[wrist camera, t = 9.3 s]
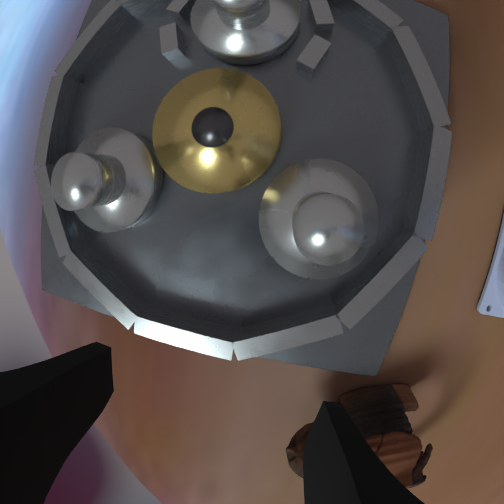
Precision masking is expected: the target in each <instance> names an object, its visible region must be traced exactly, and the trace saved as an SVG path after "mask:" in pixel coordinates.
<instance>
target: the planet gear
mask: <svg viewBox="0 0 504 504" xmlns="http://www.w3.org/2000/svg"><path fill="white" fill-rule="evenodd" d="M300 14H301V12H300V4H299V1H298V0H196V2H195V4H194V6H193V8H192V11H191V17H190V20H191V27H192V30H193V32H194V34H195V35H196V37H197V38H198V40H199V41H200V43H201V44H202V46H203V47H204V48H205V49H206V51H207V52H209V53H210V54H211V55H212V56H214V57H216V58H217V59H220V60H222V61H225V62H228V63H233V64H242V65H245V64H257V63H261V62H265V61H268V60H271V59H273V58H275V57H277V56H279V55H280V54H282V53H283V52H284V51H286V50H287V49H288V48H289V47H290V46H291V45H292V43H293V42H294V41H295V39H296V37H297V35H298V32H299V27H300Z"/></svg>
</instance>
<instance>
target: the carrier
mask: <svg viewBox="0 0 504 504" xmlns="http://www.w3.org/2000/svg"><path fill="white" fill-rule="evenodd" d="M298 1H299V4H300V12H301V14H300V27H299V32H298V35H297V37H296V39H295V41H294V42H293V43H292V45H291V46H290V47H289V48H288V49H287V50H286V51H284V52H283V53H282V54H280V55H279V56H277V57H275V58H273V59H271V60H268V61H265V62H261V63H257V64H245V65H242V64H233V63H228V62H225V61H222V60H220V59H217V58H216V57H214V56H212V55H211V54H210V53H209V52H207V51H206V49H205V48H204V47H203V46H202V44H201V43H200V41H199V40H198V38H197V37H196V35H195V34H194V32H193V30H192V27H191V20H190V17H191V11H192V8H193V6H194V4H195V2H196V0H92V2H91V4H90V6H89V9H88V11H87V13H86V16H85V18H84V21H83V23H82V26H81V28H80V31H79V34H78V36H77V39H76V41H75V43H74V44H73V45H72V47H71V48H70V49H69V51H68V52H67V54H66V55H65V56H64V58H63V59H62V61H61V62H60V64H59V65H58V66H57V68H56V69H55V72H56V73H57V74H59V75H60V76H53V77H52V78H51V81H50V85H49V89H48V93H47V97H46V101H45V105H44V110H43V114H42V119H41V124H40V129H39V135H38V141H37V147H36V154H35V161H34V165H39V166H40V167H39V168H38V169H36V170H35V171H34V172H35V177H36V181H37V185H38V189H39V193H40V197H41V201H42V204H43V206H42V226H41V270H42V290H44V291H47V292H49V293H51V294H54V295H56V296H59V297H61V298H64V299H66V300H69V301H71V302H74V303H77V304H79V305H82V306H85V307H87V308H90V309H93V310H96V311H98V312H101V313H104V314H107V315H110V316H113V317H115V318H116V319H118V320H119V321H120V322H121V323H122V324H123V325H124V326H125V327H126V328H127V329H128V330H129V329H130V328H131V327H132V326H133V325H134V333H135V334H139V335H142V336H145V337H148V338H151V339H154V340H157V341H161V342H164V343H167V344H171V345H174V346H178V347H181V348H185V349H188V350H192V351H196V352H199V353H203V354H207V355H211V356H215V357H219V358H223V359H227V360H231V359H232V356H233V353H234V352H235V354H236V356H237V359H238V360H243V359H248V358H252V357H261V358H266V359H271V360H276V361H281V362H286V363H291V364H297V365H302V366H308V367H314V368H320V369H326V370H333V371H340V372H347V373H354V374H362V375H370V376H376V375H377V373H378V371H379V369H380V367H381V364H382V362H383V360H384V357H385V355H386V353H387V350H388V348H389V346H390V343H391V341H392V338H393V336H394V333H395V331H396V328H397V326H398V323H399V320H400V318H401V315H402V312H403V310H404V307H405V304H406V301H407V298H408V295H409V292H410V289H411V286H412V283H413V280H414V277H415V274H416V270H417V267H418V264H419V260H420V257H421V256H422V255H423V254H424V253H425V252H426V250H427V249H428V247H427V246H426V245H425V243H424V242H425V239H426V240H430V241H432V240H433V236H434V232H435V228H436V224H437V220H438V215H439V211H440V206H441V201H442V196H443V191H444V186H445V181H446V175H447V169H448V162H449V156H450V148H451V140H452V131H450V130H447V129H446V126H447V125H450V124H451V121H450V118H449V115H448V98H449V77H450V38H449V18H448V15H446V14H444V13H442V12H440V11H438V10H436V9H433V8H431V7H429V6H427V5H424V4H422V3H419V2H417V1H415V0H298Z"/></svg>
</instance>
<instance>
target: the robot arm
mask: <svg viewBox="0 0 504 504" xmlns="http://www.w3.org/2000/svg"><path fill="white" fill-rule="evenodd" d="M488 306H489V307H488ZM487 307H488V309H487ZM477 310H478V312H480V313H481V314H485V315H491V316H496V317H502V318H504V214H503V219H502V224H501V228H500V233H499V237H498V241H497V245H496V249H495V253H494V256H493V260H492V263H491V267H490V270H489V273H488V276H487V280H486V283H485V286H484V289H483V292H482V294H481V297H480V300H479V303H478V306H477ZM113 392H114V389H113V376H112V359H111V347H108V346H106V345H103V344H101V343H98V342H95V343H91V344H89V345H86V346H83V347H80V348H78V349H75V350H72V351H70V352H67V353H64V354H62V355H59V356H56V357H54V358H51V359H48V360H45V361H42V362H39V363H35V364H32V365H29V366H26V367H22V368H19V369H14V370H10V371H5V372H0V504H43V503H44V501H45V499H46V496H47V494H48V492H49V490H50V488H51V486H52V484H53V482H54V480H55V478H56V476H57V474H58V473H59V471H60V469H61V467H62V466H63V463H64V462H65V460H66V459H67V457H68V456H69V454H70V453H71V451H72V450H73V449H74V448H75V446H76V445H77V444H78V442H79V441H80V440H81V439H82V437H83V436H84V435H85V434H86V432H87V431H88V430H89V429H90V427H91V426H92V425H93V423H94V422H95V421H96V419H97V418H98V417H99V415H100V414H101V413H102V411H103V410H104V408H105V406H106V404H107V403H108V401H109V399H110V397H111V395H112V393H113ZM303 479H304V499H305V504H424V503H423V502H422V501H421V500H419V499H418V498H417V497H416V496H414V495H413V494H412V493H411V492H410V491H409V490H408V489H407V488H406V487H405V486H404V485H403V484H402V483H401V482H400V481H399V480H398V479H397V478H396V477H395V476H394V475H393V474H392V473H391V472H390V471H389V470H388V468H387V467H386V466H385V465H384V464H383V462H382V461H381V460H380V459H379V458H378V456H377V455H376V454H375V452H374V451H373V450H372V448H371V447H370V446H369V444H368V443H367V441H366V440H365V439H364V437H363V436H362V434H361V433H360V431H359V430H358V428H357V427H356V425H355V424H354V422H353V421H352V419H351V418H350V416H349V415H348V413H347V411H346V410H345V408H344V407H343V405H342V404H341V403H335V402H327V401H323V403H322V405H321V408H320V410H319V412H318V414H317V417H316V419H315V421H314V423H313V425H312V427H311V429H310V432H309V434H308V436H307V438H306V440H305V446H304V458H303Z"/></svg>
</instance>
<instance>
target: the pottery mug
mask: <svg viewBox="0 0 504 504" xmlns="http://www.w3.org/2000/svg"><path fill="white" fill-rule="evenodd" d="M340 403H341V404H342V405H343V407H344V408H345V410H346V411H347V413H348V415H349V416H350V418H351V419H352V421H353V422H354V424H355V425H356V427H357V428H358V430H359V431H360V433H361V434H362V436H363V437H364V439H365V440H366V441H367V443H368V444H369V446H370V447H371V448H372V450H373V451H374V452H375V454H376V455H377V456H378V458H379V459H380V460H381V461H382V462H383V464H384V465H385V466H386V467H387V468H388V470H389V471H390V472H391V473H392V474H393V475H394V476H395V477H396V478H397V479H398V480H399V481H400V482H401V483H402V484H403V485H404V486H405V487H406V488H412V487H415V486H417V485H419V484H421V483H423V482H424V481H425V479H426V476H425V475H424V476H423V473H422V470H423V468H424V467H425V465H426V464H427V462H428V460H429V458H430V455H431V451H432V449H433V448H432V445H431V444H428V445H427V446H426V449H425V452H423V451H421V450H422V445H421V440H420V439H419V437H417V436H415V435H413V434H412V432H413V430H412V428H411V424H410V423H409V421H408V417H407V416H406V414H405V412H406V411H416V410H417V409H418V407H419V406H418V402H417V400H416V398H415V396H414V395H413V393H412V391H411V389H410V387H409V386H408V385H405V384H392V385H391V384H387V385H375V386H371V387H364V388H361V389H357V390H355V391H351V392H349V393H346V394H344V395H342V396H341V397H340ZM313 423H314V422H313ZM313 423H310V424H306V425H305V426H303V427H302V428H301V429H300V430H299V431H297V432H296V434H295V435H294V436H293V437H292V439H291V441H290V443H289V446H288V447H287V448H286V452H287V458H288V462H289V465H290V467H291V468H292V470H293V471H294V472H295V473H296V474H297V475H298V476H300V477H302V478H303V458H304V446H305V440H306V438H307V436H308V434H309V432H310V429H311V427H312V425H313Z"/></svg>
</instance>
